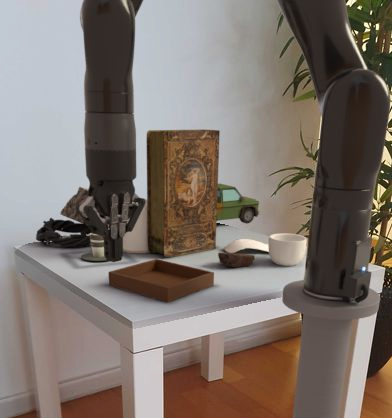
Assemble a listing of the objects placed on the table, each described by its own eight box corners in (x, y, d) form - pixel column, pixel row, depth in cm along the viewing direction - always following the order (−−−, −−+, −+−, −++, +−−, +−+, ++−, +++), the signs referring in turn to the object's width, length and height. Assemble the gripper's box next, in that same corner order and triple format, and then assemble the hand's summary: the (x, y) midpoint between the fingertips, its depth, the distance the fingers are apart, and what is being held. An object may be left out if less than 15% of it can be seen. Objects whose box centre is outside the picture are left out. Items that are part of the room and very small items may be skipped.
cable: (53, 231, 139) (52, 213, 138) (108, 234, 139) (108, 216, 137) (31, 246, 124) (29, 227, 122) (93, 249, 123) (92, 230, 121)
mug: (146, 255, 119) (145, 206, 115) (110, 250, 122) (108, 203, 118) (169, 245, 128) (169, 199, 124) (136, 241, 131) (135, 196, 127)
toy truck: (261, 223, 154) (263, 185, 150) (195, 230, 144) (195, 191, 140) (239, 216, 163) (240, 180, 159) (174, 223, 153) (174, 185, 149)
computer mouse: (276, 257, 120) (276, 244, 119) (221, 255, 123) (221, 243, 121) (279, 247, 128) (280, 235, 127) (228, 246, 130) (228, 234, 129)
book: (202, 243, 131) (205, 129, 121) (219, 247, 127) (223, 130, 117) (147, 253, 120) (145, 130, 110) (163, 258, 117) (163, 131, 107)
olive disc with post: (135, 260, 114) (134, 236, 112) (77, 266, 109) (75, 241, 107) (116, 248, 124) (116, 225, 122) (63, 252, 119) (61, 229, 117)
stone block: (69, 181, 123) (56, 213, 125) (105, 199, 124) (93, 231, 126) (85, 185, 137) (73, 214, 139) (118, 201, 138) (106, 229, 139)
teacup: (308, 268, 112) (311, 241, 110) (271, 268, 112) (273, 241, 109) (296, 255, 121) (298, 231, 119) (262, 255, 121) (263, 231, 119)
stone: (212, 265, 112) (212, 250, 111) (232, 259, 118) (233, 244, 116) (238, 271, 109) (240, 256, 107) (258, 265, 114) (260, 250, 113)
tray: (213, 285, 100) (214, 272, 99) (167, 302, 91) (167, 287, 90) (156, 271, 108) (156, 258, 107) (108, 285, 99) (108, 271, 98)
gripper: (93, 149, 75) (98, 273, 82) (159, 146, 85) (159, 257, 92) (58, 145, 79) (66, 263, 86) (125, 143, 89) (127, 249, 96)
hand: (114, 260), depth 89 cm, fingers closed
